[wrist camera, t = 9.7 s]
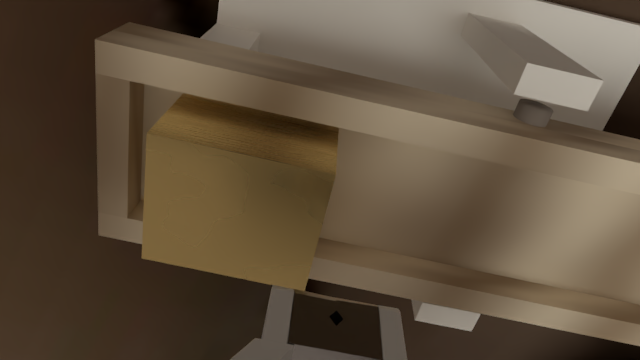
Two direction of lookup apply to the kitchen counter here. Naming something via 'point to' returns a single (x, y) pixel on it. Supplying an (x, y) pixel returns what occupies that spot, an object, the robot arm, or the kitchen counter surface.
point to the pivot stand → (452, 57)
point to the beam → (407, 182)
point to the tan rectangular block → (237, 190)
